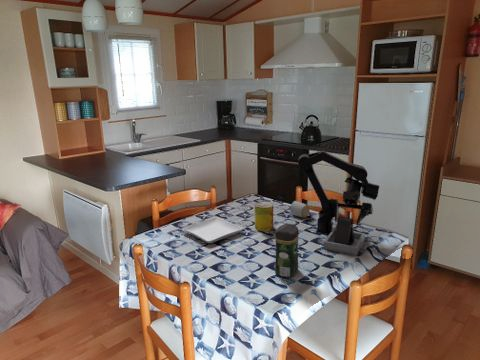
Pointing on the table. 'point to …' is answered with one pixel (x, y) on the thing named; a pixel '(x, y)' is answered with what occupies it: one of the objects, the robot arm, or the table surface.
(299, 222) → the table surface
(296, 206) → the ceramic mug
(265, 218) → the yellow green jar
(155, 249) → the table surface
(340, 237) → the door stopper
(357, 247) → the box
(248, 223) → the table surface
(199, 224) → the salad plate
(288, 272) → the coffee jar
